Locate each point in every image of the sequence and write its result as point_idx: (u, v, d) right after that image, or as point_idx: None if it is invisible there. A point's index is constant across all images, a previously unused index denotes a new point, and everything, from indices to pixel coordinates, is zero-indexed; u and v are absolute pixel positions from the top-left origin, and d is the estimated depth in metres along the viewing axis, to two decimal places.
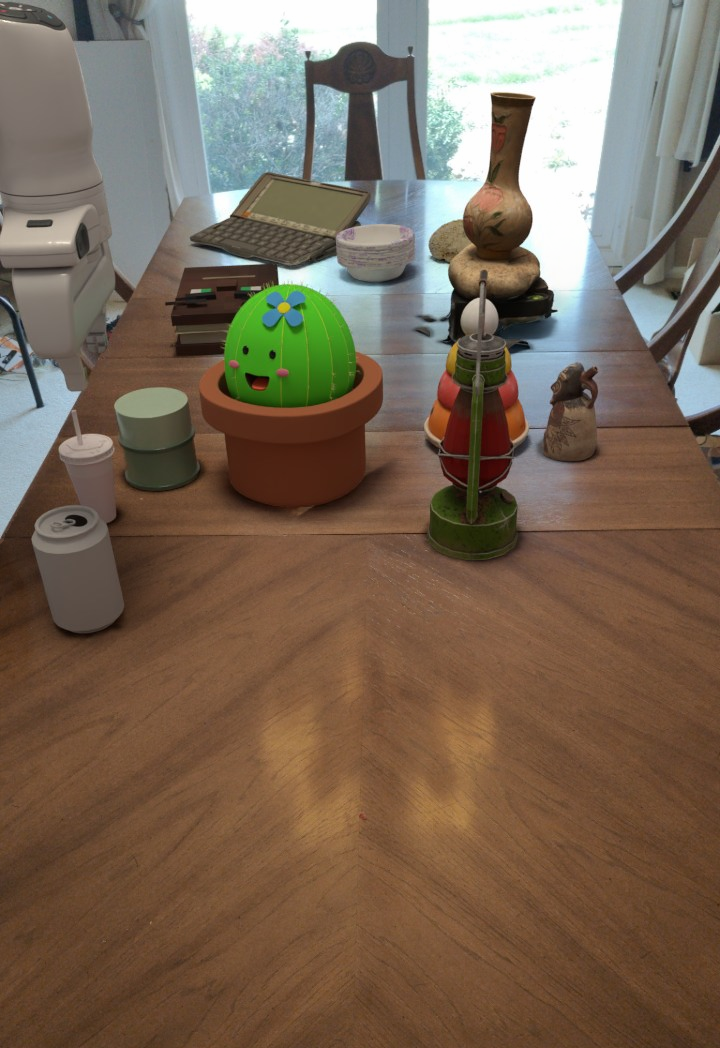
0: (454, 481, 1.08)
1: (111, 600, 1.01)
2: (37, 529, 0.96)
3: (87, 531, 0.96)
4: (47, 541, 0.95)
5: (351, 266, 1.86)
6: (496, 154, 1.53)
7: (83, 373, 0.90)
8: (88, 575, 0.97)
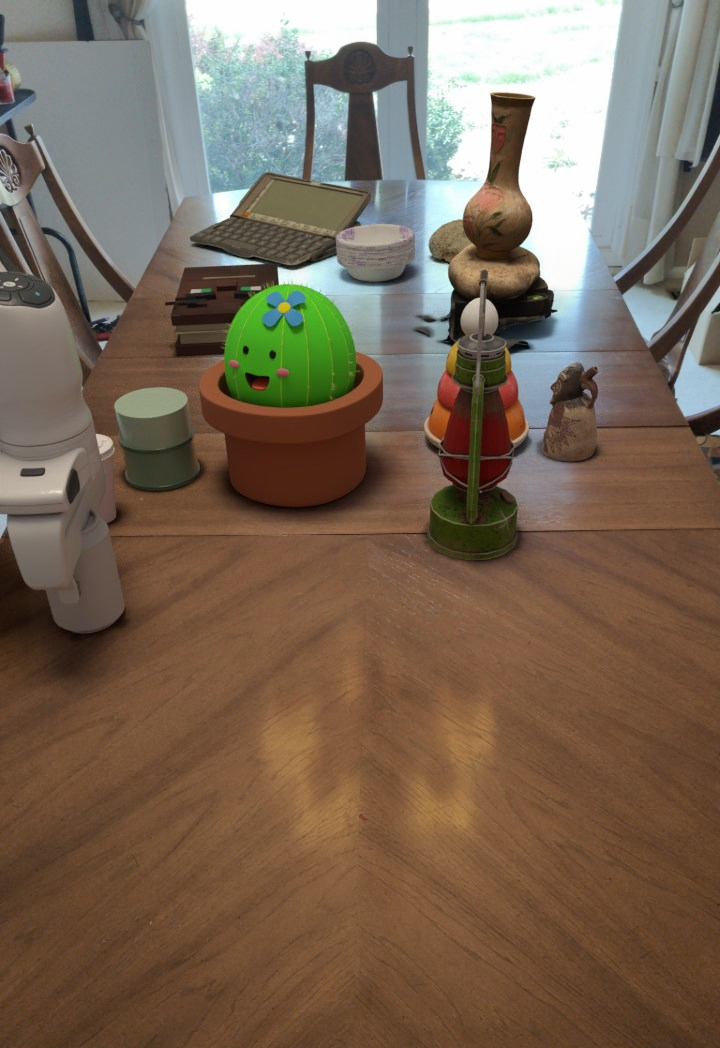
0: (454, 481, 1.08)
1: (112, 600, 1.01)
2: None
3: (87, 531, 0.96)
4: None
5: (351, 266, 1.86)
6: (496, 154, 1.53)
7: (76, 588, 0.96)
8: (89, 575, 0.97)
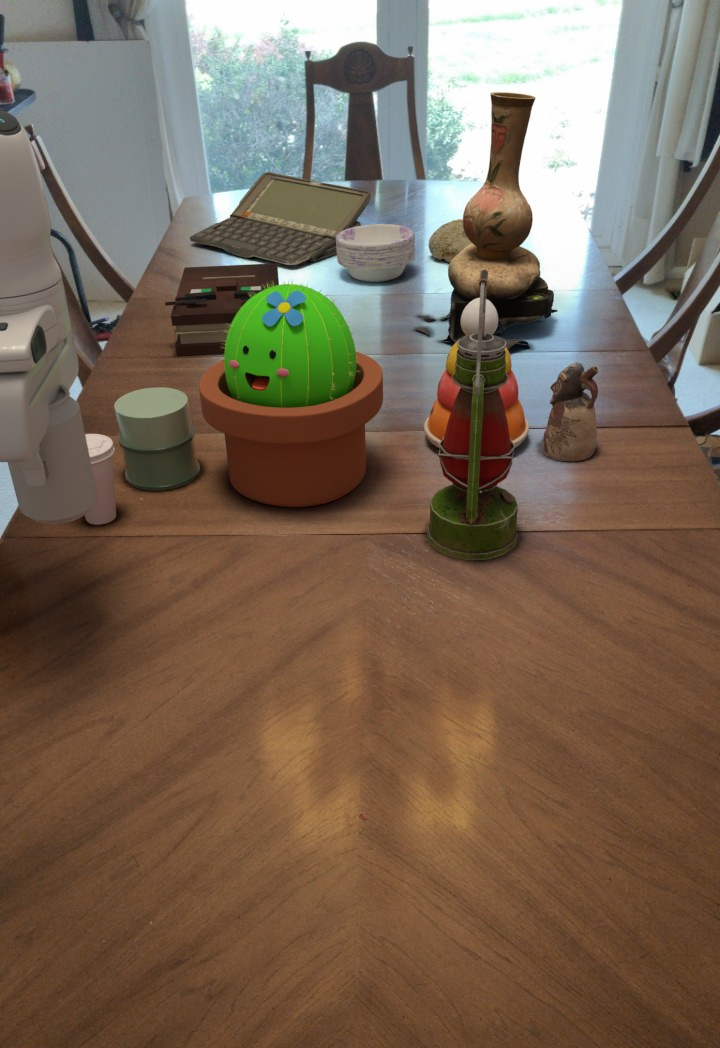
0: (454, 481, 1.08)
1: (82, 488, 0.93)
2: None
3: (56, 406, 0.88)
4: None
5: (351, 266, 1.86)
6: (496, 154, 1.53)
7: (42, 468, 0.88)
8: (57, 455, 0.89)
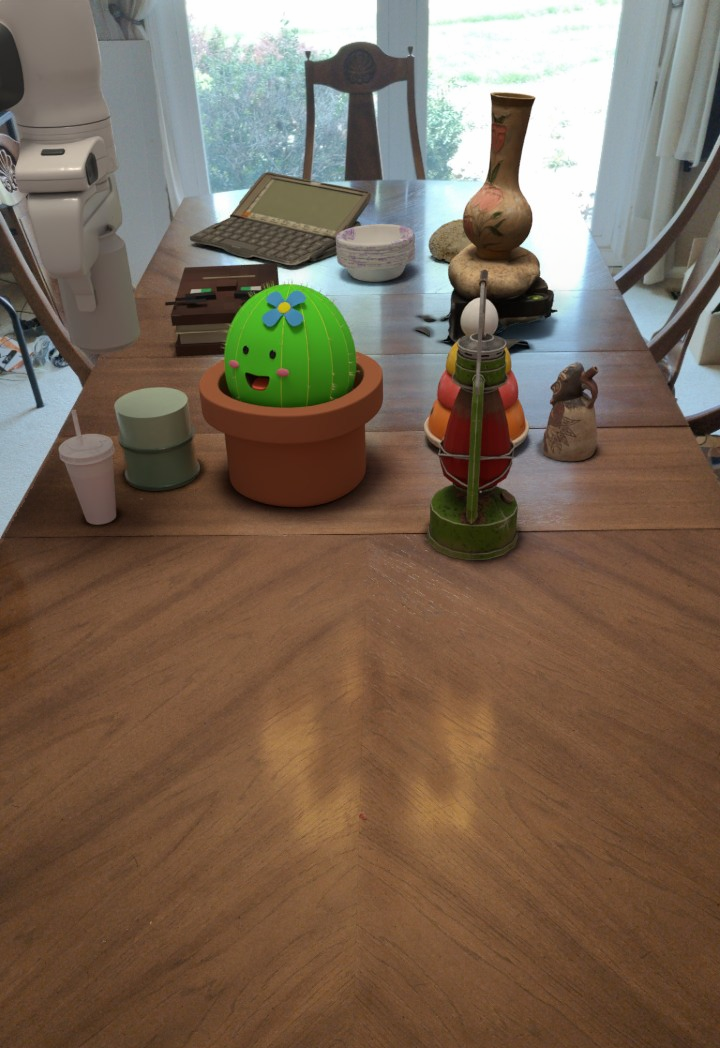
0: (454, 481, 1.08)
1: (127, 319, 1.03)
2: None
3: (105, 237, 0.98)
4: None
5: (351, 266, 1.86)
6: (496, 154, 1.53)
7: (93, 294, 0.99)
8: (106, 284, 1.00)
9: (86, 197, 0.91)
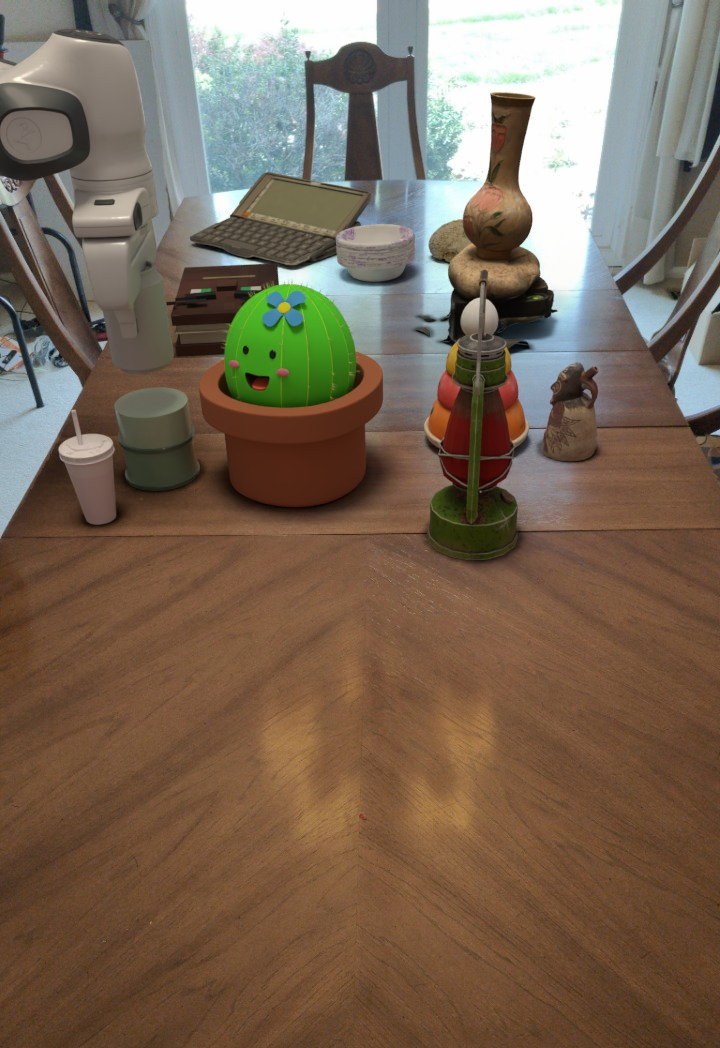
0: (454, 481, 1.08)
1: (164, 344, 1.17)
2: None
3: (146, 273, 1.12)
4: None
5: (351, 266, 1.86)
6: (496, 154, 1.53)
7: (135, 323, 1.12)
8: (146, 314, 1.14)
9: (133, 241, 1.05)
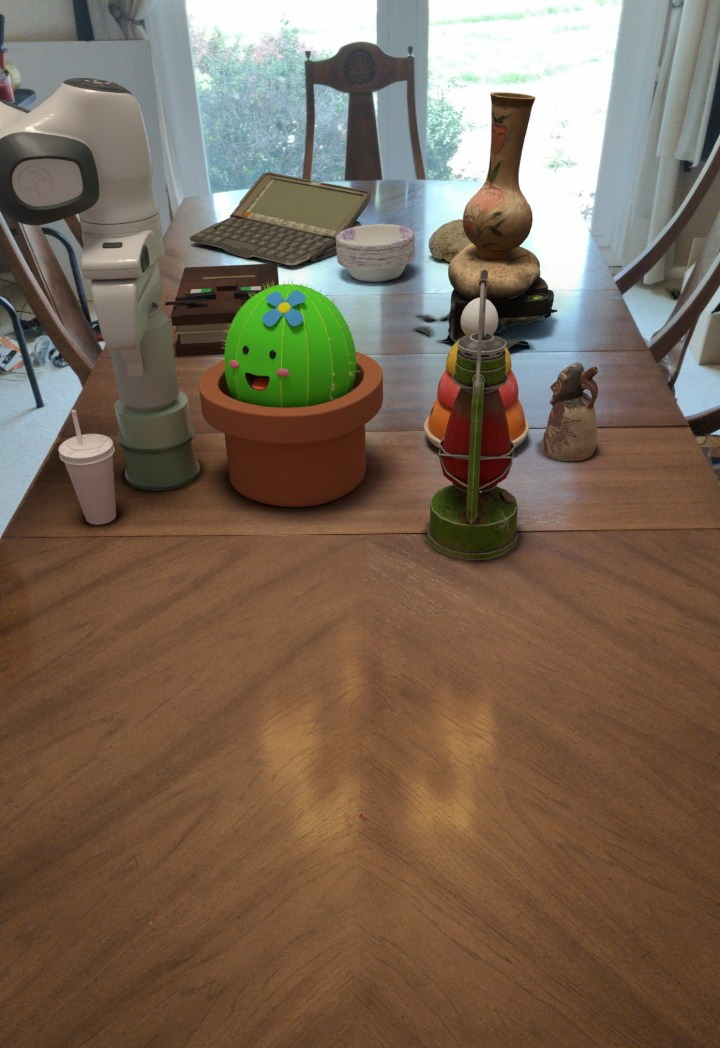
0: (454, 481, 1.08)
1: (170, 382, 1.20)
2: None
3: (152, 315, 1.15)
4: None
5: (351, 266, 1.86)
6: (496, 154, 1.53)
7: (141, 361, 1.15)
8: (152, 354, 1.16)
9: (140, 282, 1.08)
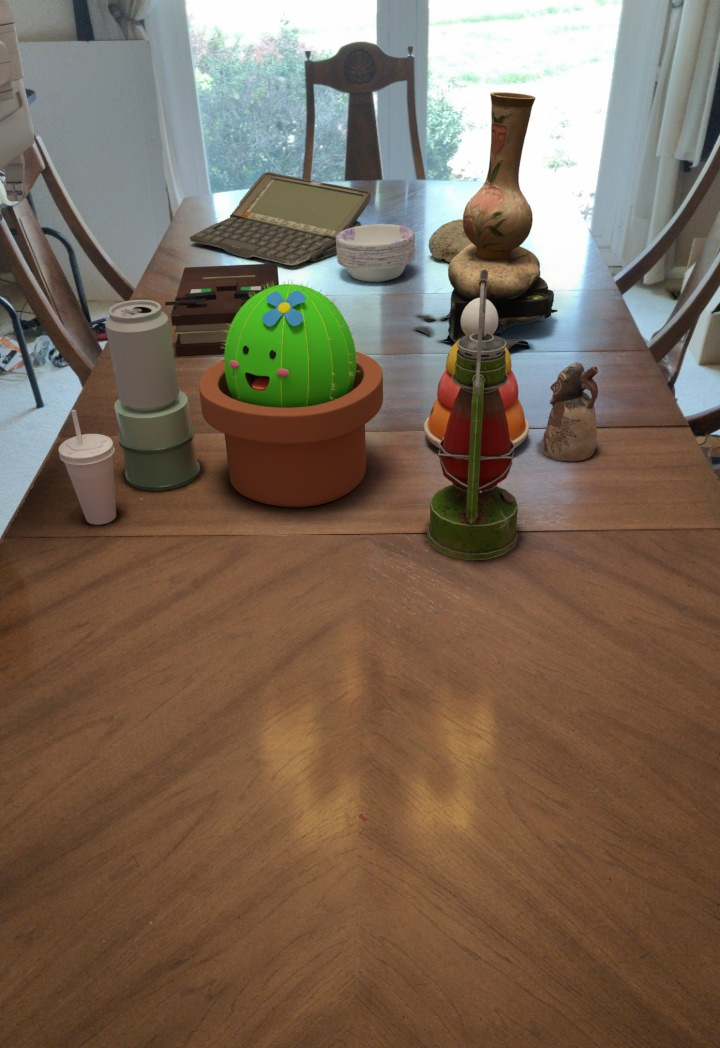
0: (454, 481, 1.08)
1: (169, 382, 1.20)
2: (110, 313, 1.15)
3: (152, 315, 1.15)
4: (119, 322, 1.15)
5: (351, 266, 1.86)
6: (496, 154, 1.53)
7: None
8: (152, 354, 1.16)
9: None
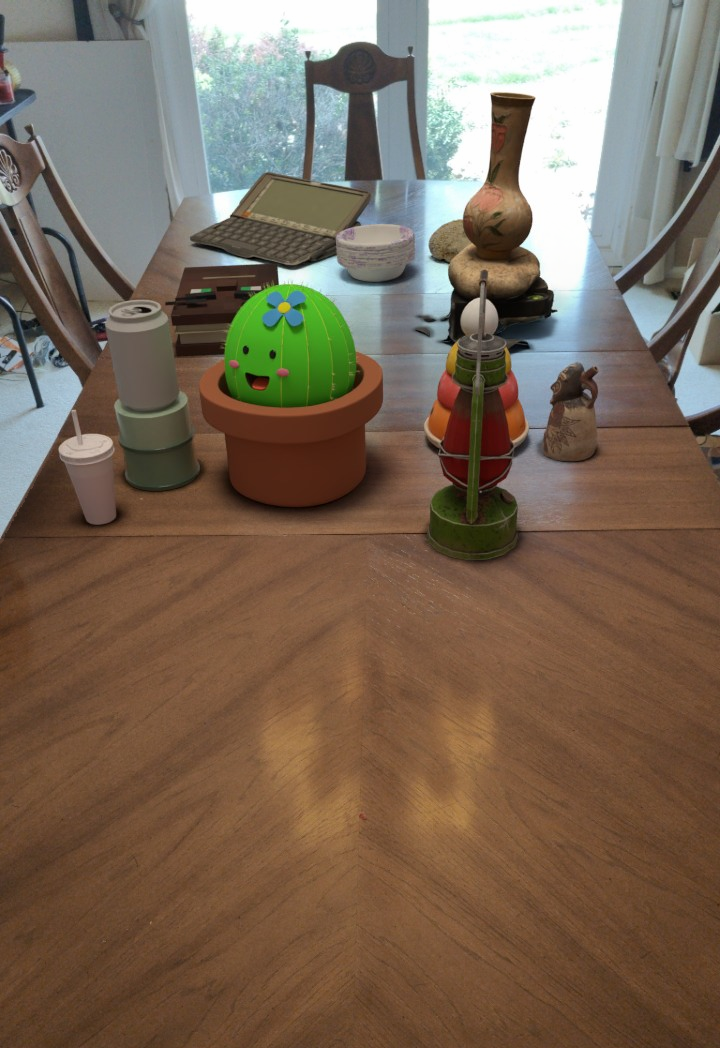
0: (454, 481, 1.08)
1: (169, 382, 1.20)
2: (110, 313, 1.15)
3: (152, 315, 1.15)
4: (119, 322, 1.15)
5: (351, 266, 1.86)
6: (496, 154, 1.53)
7: None
8: (152, 354, 1.16)
9: None
